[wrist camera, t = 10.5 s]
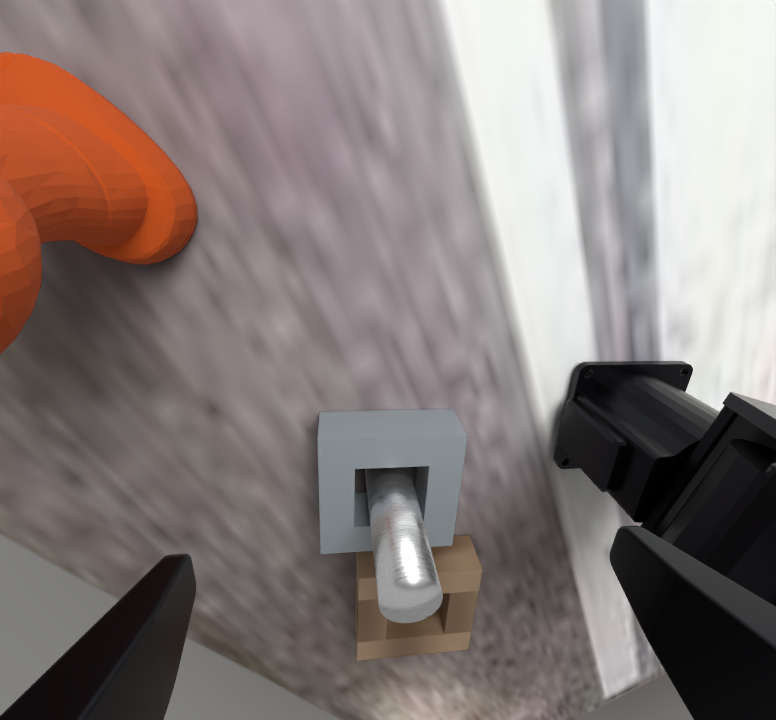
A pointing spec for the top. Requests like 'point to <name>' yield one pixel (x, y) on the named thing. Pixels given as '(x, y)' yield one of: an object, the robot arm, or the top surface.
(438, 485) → the gray square ring
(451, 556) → the socket block
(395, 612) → the silver metal rod
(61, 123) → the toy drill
